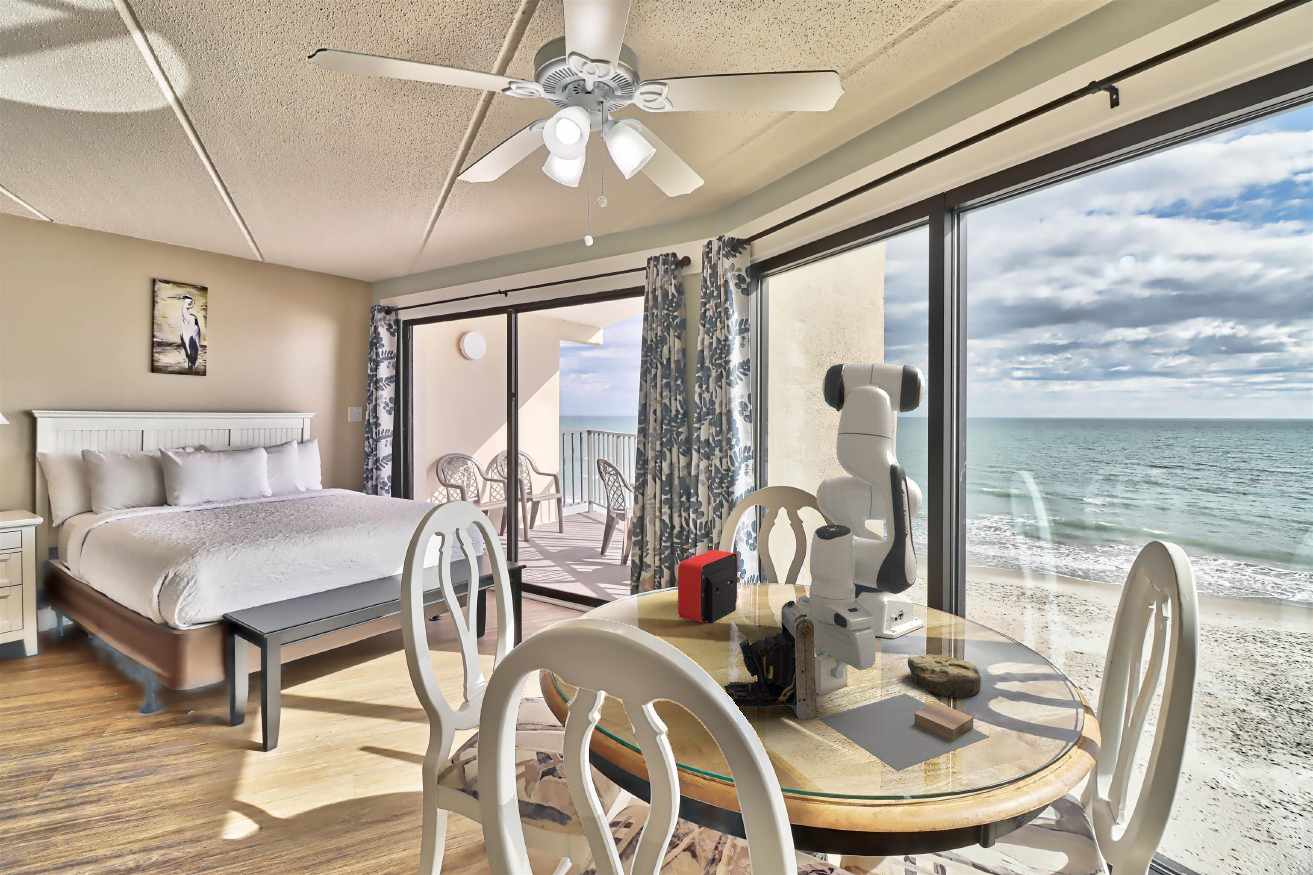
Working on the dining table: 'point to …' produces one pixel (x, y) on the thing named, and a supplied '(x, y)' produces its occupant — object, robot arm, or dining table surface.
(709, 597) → the alarm clock
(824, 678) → the box
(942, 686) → the stone
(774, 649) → the vintage camera
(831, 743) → the dining table surface
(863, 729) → the mat
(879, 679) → the dining table surface
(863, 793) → the dining table surface
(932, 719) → the walnut block
